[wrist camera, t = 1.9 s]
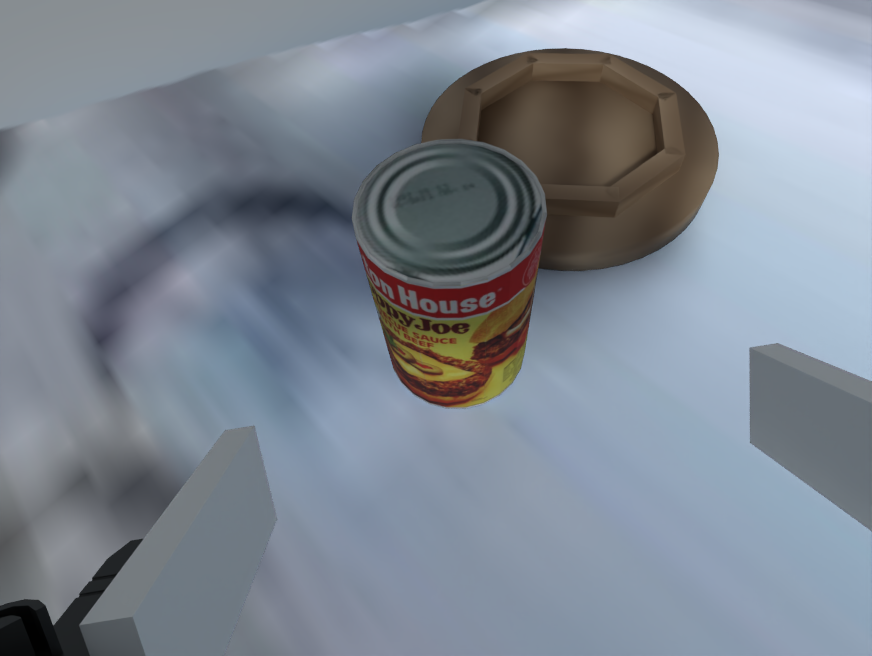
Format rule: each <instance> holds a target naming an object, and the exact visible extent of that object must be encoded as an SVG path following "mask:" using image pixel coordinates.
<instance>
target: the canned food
mask: <svg viewBox="0 0 872 656" xmlns="http://www.w3.org/2000/svg"><path fill="white" fill-rule="evenodd" d="M546 217H547V210H546V200H545V193H544V191H543V189H542V187H541V185H540V183H539V180H538V178H537V176H536V175H535V174H534V173H533V172H532V171H531V170H530V169H529V168H528V167H527V165H526V164H525V163H524V162H523V161H521V160H520V159H518V158H517V157H515V156H514V155H512V154H510V153H509V152H507V151H506V150H504V149H501V148H498V147H495V146H493V145H490V144H487V143H484V142H479V141H472V140H465V139H441V140H434V141H429V142H425V143H420V144H415V145H413V146H411V147H408V148H406V149H404V150H401V151H399V152H396V153H394V154H393V155H391V156H390V157H389V158H387V159H386V160H384V161H383V162H381V163H380V164H378V165H377V166H376V167H375V168H374V169H373V170H372V172H371V173H370V174H369V175H368V176H367V177H366V178H365V179H364V181H363V182H362V184H361V186H360V188H359V190H358V192H357V195H356V197H355V199H354V205H353V213H352V222H353V226H354V231H355V236H356V240H357V243H358V246H359V250H360V253H361V257H362V260H363V264H364V267H365V271H366V274H367V278H368V281H369V285H370V288H371V292H372V295H373V299H374V302H375V306H376V309H377V313H378V316H379V320H380V323H381V326H382V330H383V333H384V337H385V340H386V344H387V347H388V351H389V354H390V358H391V361H392V365H393V368H394V371H395V372H396V374H397V376H398V378H399V380H400V381H401V383H402V384H403V385H404V386H405V387H406V388H407V389H408V390H409V391H410V392H411V393H412V394H413V395H414V396H416V397H418V398H419V399H421V400H423V401H425V402H427V403H428V404H431V405H435V406H439V407H443V408H447V409H466V408H470V407H474V406H478V405H482V404H485V403H487V402H489V401H490V400H492V399H494V398H496V397H498V396H500V395H501V394H502V393H503V392H504V391H505V390H506V389H507V388H508V387H509V386H510V385H511V384H512V383H513V381H514V380H515V378H516V376H517V374H518V373H519V371H520V369H521V365H522V361H523V357H524V353H525V347H526V340H527V334H528V328H529V322H530V316H531V309H532V303H533V297H534V291H535V285H536V279H537V272H538V266H539V260H540V254H541V248H542V241H543V235H544V229H545V223H546Z"/></svg>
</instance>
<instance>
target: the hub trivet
mask: <svg viewBox="0 0 872 656" xmlns="http://www.w3.org/2000/svg"><path fill="white" fill-rule="evenodd" d="M441 139H465V140H472V141H479V142H484V143H487V144H490V145H493V146H495V147H498V148H501V149H504V150H506V151H507V152H509V153H510V154H512V155H514V156H515V157H517V158H518V159H520V160H521V161H523V162H524V163H525V164H526V165H527V167H528V168H529V169H530V170H531V171H532V172H533V173H534V174H535V175H536V176H537V178H538V180H539V183H540V185H541V187H542V189H543V191H544V193H545V200H546V210H547V217H546V223H545V229H544V235H543V241H542V248H541V254H540V260H539V266H538V268H542V269H551V270H560V271H584V270H594V269H603V268H608V267H613V266H618V265H622V264H625V263H628V262H631V261H634V260H637V259H640V258H643V257H645V256H647V255H649V254H651V253H653V252H655V251H657V250H659V249H661V248H662V247H664V246H665V245H667V244H668V243H670V242H671V241H673V240H674V239H675V238H676V237H677V236H678V235H679V234H681V233H682V232H683V231H684V230H685V229H686V228H687V226H688V225H689V224H690V223H691V221H692V220H693V219H694V218H695V216H696V214H697V212H698V211H699V209H700V207H701V205H702V203H703V201H704V199H705V197H706V195H707V193H708V191H709V189H710V187H711V185H712V183H713V181H714V178H715V174H716V171H717V167H718V157H719V152H718V142H717V138H716V135H715V131H714V128H713V126H712V124H711V122H710V120H709V118H708V116H707V114H706V113H705V111H704V110H703V109H702V107H701V106H700V104H699V103H698V102H697V101H696V100H695V99H694V98H693V97H692V96H691V95H690V94H689V92H687V91H686V90H685V89H684V88H682V87H681V86H680V85H679V84H678V83H676V82H675V81H673V80H672V79H670V78H669V77H667V76H666V75H664V74H662V73H660V72H658V71H657V70H655V69H653V68H651V67H649V66H646V65H644V64H641V63H639V62H636V61H634V60H631V59H628V58H624V57H621V56H618V55H613V54H609V53H604V52H599V51H592V50H584V49H567V48H563V49H543V50H533V51H527V52H522V53H517V54H513V55H509V56H506V57H502V58H499V59H496V60H494V61H491V62H488V63H486V64H484V65H482V66H480V67H478V68H476V69H474V70H472V71H470V72H468V73H467V74H465V75H464V76H462V77H461V78H459V79H458V80H457V81H455V82H454V83H453V84H452V85H451V86H449V87H448V88H447V89H446V90H445V91H444V92H443V94H442V95H441V96H440V97H439V98H438V99H437V101H436V102H435V104H434V105H433V107H432V108H431V110H430V112H429V114H428V116H427V118H426V121H425V124H424V128H423V131H422V140H421V143H425V142H429V141H434V140H441Z"/></svg>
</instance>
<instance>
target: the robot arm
mask: <svg viewBox="0 0 872 656" xmlns="http://www.w3.org/2000/svg"><path fill="white" fill-rule="evenodd" d="M750 443H751V444H753V445H754V446H755V447H757V448H758V449H759V450H761V451H762V452H764V453H765V454H766V455H768V456H769V457H770V458H772V459H773V460H774V461H776V462H777V463H779V464H780V465H781V466H783V467H784V468H785V469H787V470H788V471H790V472H791V473H792V474H794V475H795V476H796V477H798V478H799V479H801V480H802V481H803V482H805V483H806V484H807V485H809V486H810V487H812V488H813V489H814V490H816V491H817V492H818V493H820V494H821V495H823V496H824V497H825V498H827V499H828V500H829V501H831V502H832V503H834V504H835V505H836V506H838V507H839V508H840V509H842V510H843V511H845V512H846V513H847V514H849V515H850V516H851V517H853V518H854V519H856V520H857V521H858V522H860V523H861V524H862V525H864V526H865V527H867V528H868V529H869V530H871V531H872V381H869V380H867V379H864V378H862V377H860V376H857V375H855V374H852V373H850V372H847V371H845V370H842V369H840V368H837V367H835V366H833V365H830V364H828V363H825V362H823V361H820V360H818V359H815V358H813V357H810V356H808V355H805V354H803V353H801V352H798V351H796V350H793V349H791V348H788V347H786V346H783V345H781V344H778V343H776V344H770V345H764V346H757V347H751V348H750ZM276 521H277V516H276V512H275V508H274V504H273V499H272V495H271V491H270V487H269V483H268V479H267V475H266V471H265V467H264V463H263V459H262V455H261V451H260V446H259V442H258V438H257V434H256V430H255V426H249V427H243V428H237V429H230V430H225V431H224V432H223V434H222V435H221V436H220V438H219V439H218V440H217V442H216V443H215V444H214V446H213V447H212V448H211V450H210V451H209V452H208V454H207V455H206V456H205V458H204V459H203V460H202V462H201V463H200V464H199V466H198V467H197V468H196V470H195V471H194V472H193V474H192V475H191V476H190V478H189V479H188V480H187V482H186V483H185V484H184V486H183V487H182V488H181V490H180V491H179V492H178V494H177V495H176V496H175V498H174V499H173V500H172V502H171V503H170V504H169V506H168V507H167V508H166V510H165V511H164V512H163V514H162V515H161V516H160V518H159V519H158V520H157V522H156V523H155V524H154V526H153V527H152V528H151V530H150V531H149V532H148V534H147V535H146V536H145V538H144V539H139V540H132V541H130V542H129V543H127V544H126V545H125V546H124V547H122V548H121V549H120V550H118V551H117V552H116V553H114V554H113V555H112V556H111V557H109V558H108V559H107V560H106V561H105V563H104V564H103V565H102V566H101V568H100V569H99V570H98V571H97V573H96V574H95V575H94V576H93V578H92V581H90V582H88V584H87V585H86V586H85V587H84V589H83V590H82V591H81V592H80V594H79V595H80V596H79V598H76V599H75V600H74V601H73V602H72V604H71V605H70V606H69V607H68V609H67V610H66V611H65V612H64V613H63V615H62V616H61V617H60V618H59V620H58V621H57V622H56V623H55V625H54V626H53V624H52V622H51V619H50V616H49V614H48V611H47V608H46V606H45V605H44V604H43V603H42V602H40V601H39V600H28V599H24V600H20V601H16V602H11V603H7V604H4V605H2V606H0V656H224V655H225V652H226V650H227V647H228V644H229V642H230V639H231V637H232V634H233V632H234V629H235V626H236V624H237V621H238V619H239V616H240V613H241V611H242V608H243V606H244V603H245V601H246V598H247V595H248V593H249V590H250V588H251V585H252V583H253V580H254V577H255V575H256V572H257V570H258V567H259V564H260V562H261V559H262V557H263V554H264V552H265V549H266V546H267V544H268V541H269V539H270V536H271V533H272V531H273V528H274V526H275V523H276Z"/></svg>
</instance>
